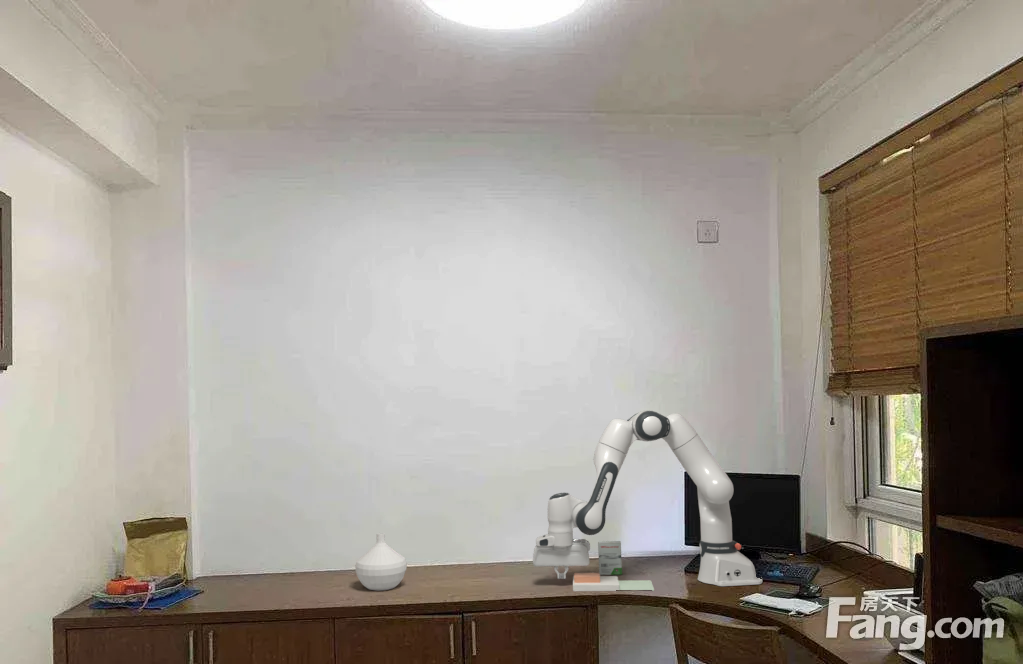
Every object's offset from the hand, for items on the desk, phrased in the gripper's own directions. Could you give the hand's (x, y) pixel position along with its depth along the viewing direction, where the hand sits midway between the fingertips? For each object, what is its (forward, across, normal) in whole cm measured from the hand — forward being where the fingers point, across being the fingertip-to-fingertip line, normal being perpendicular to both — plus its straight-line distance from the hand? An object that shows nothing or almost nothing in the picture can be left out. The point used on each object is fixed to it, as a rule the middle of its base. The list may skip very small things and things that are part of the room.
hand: (561, 578), depth 308 cm
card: (+1, -9, 0) cm, 9 cm away
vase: (+3, +65, 0) cm, 65 cm away
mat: (+3, -26, 0) cm, 26 cm away
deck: (+3, -12, 0) cm, 12 cm away
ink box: (+3, -18, -19) cm, 26 cm away
